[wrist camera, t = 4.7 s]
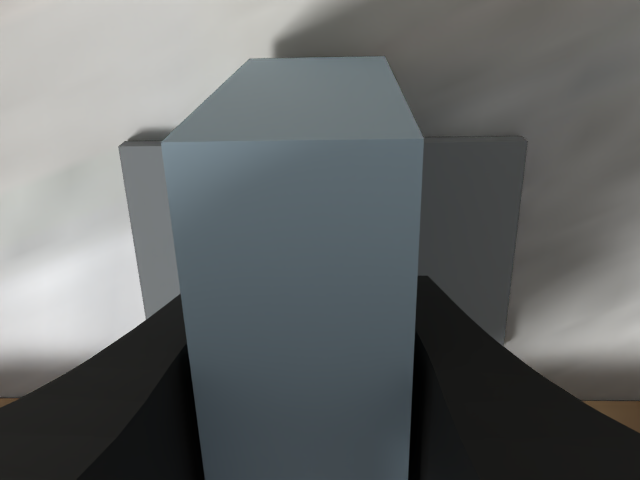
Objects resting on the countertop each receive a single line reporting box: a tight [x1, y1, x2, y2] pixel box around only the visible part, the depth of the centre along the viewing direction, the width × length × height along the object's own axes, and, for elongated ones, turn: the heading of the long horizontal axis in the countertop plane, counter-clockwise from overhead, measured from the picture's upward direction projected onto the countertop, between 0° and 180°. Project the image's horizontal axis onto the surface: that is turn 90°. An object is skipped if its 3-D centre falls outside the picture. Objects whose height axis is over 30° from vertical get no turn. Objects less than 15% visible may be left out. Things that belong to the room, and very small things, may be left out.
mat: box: [118, 136, 527, 346], centre depth 13 cm, size 8×5×1 cm, turn 91°
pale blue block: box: [161, 56, 424, 480], centre depth 10 cm, size 2×8×6 cm, turn 2°
